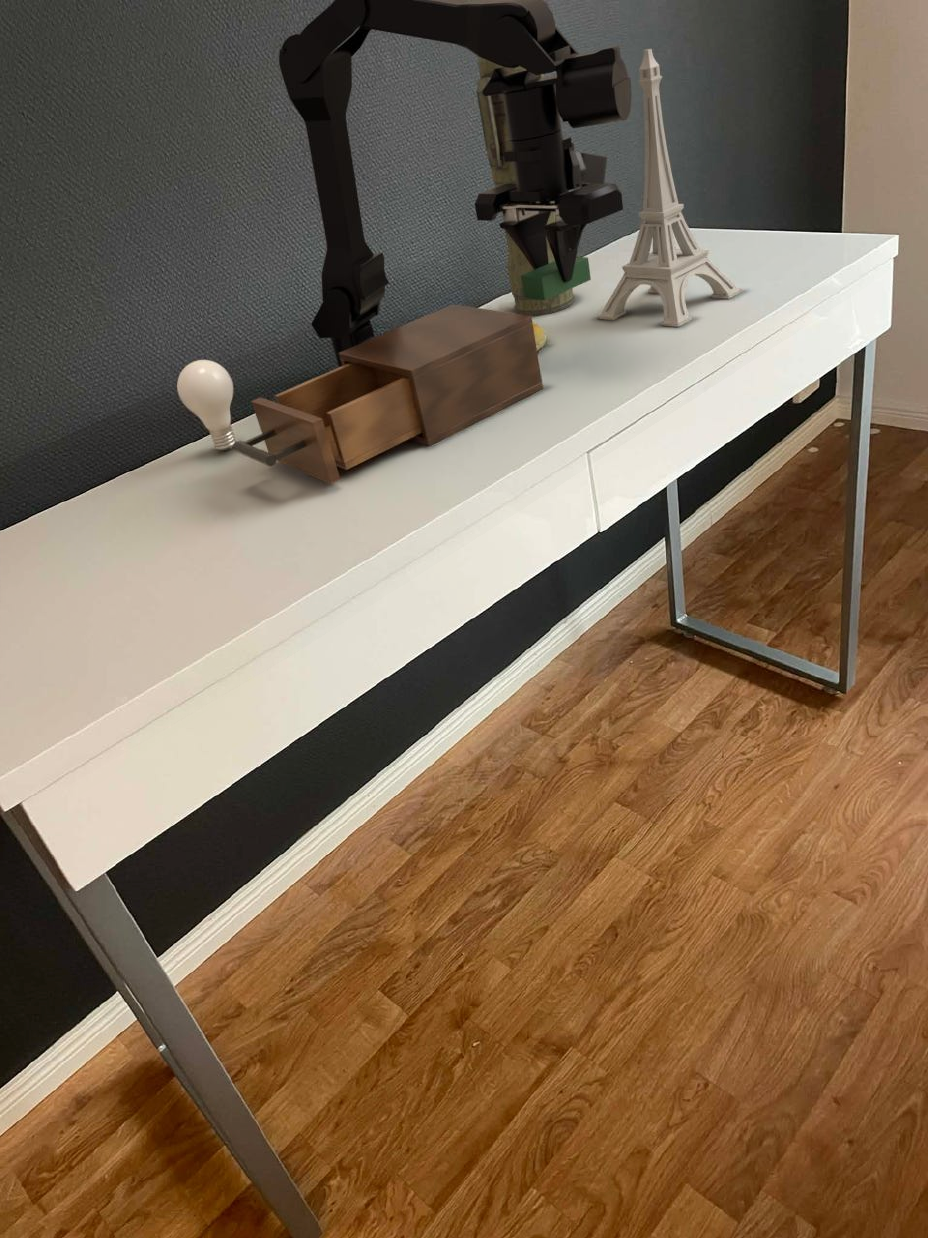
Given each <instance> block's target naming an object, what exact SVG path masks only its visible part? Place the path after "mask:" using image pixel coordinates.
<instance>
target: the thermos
mask: <svg viewBox="0 0 928 1238" xmlns="http://www.w3.org/2000/svg"><path fill="white" fill-rule="evenodd" d="M477 65H478V72H479V76H480V78H479V79H478V82H477V89H476V97H477V98H476V99H477V103H478V110H479V115H480V120H481V121H480V122H481V126H482V127H481V128H482V132H483V139H484V143H485V150H486V155H487V158H488V163H489V166H490V170H491V175H492V176H491V177H492V181H493V184H494V185H495V188H496V187H498V186H501V185H504V184H516V178H515V172H514V166H513V162H505V160H504V154H503V152H505V151H507V150H510V149H511V147H510V139H509V134H508V128H507V121H506V115H505V109H504V102H503V96H502V94H497V95H491V96H484V95H483V94H482V90H483V89H484V88H485V86H486V85H487V83H488V82H489V80H490V78H491V76H492V74H493V70H494V69H496V68H498V67H501V66H500V65H498V64H495V63H493V62H490V61H488V60H485V59H483V58H480V57H478V56H477ZM505 69H506V70H508V71H509V72H511V73H513V72H519V71H524V70H526V69H524V68H522V67H520V66H519V67H516V68H506V67H505ZM540 77H546V74H541V75H540ZM536 203H540V202H536ZM551 203H555V202H552V201H551ZM501 215H503V212H501ZM555 215H556V212H551V214H550V217H549V219H548V222H547V225H548V224H551V223H553V222H556V221H555ZM502 220H503V221H504V218H503V217H502ZM504 232H505V237H506V244H507V250H508V256H507V262H506V266H507V272H508V278H509V284H510V290H511V296H513V299H514V303H515V314H522V315H528V316H543V315H548V314H552V313H556V312H558V311H562V310H564V309H567V308H569V307H570V306H572V305H573V304H574V303H575V301H576V300H575V295H574V288H571V289H569V290H567V291H565V292H563V293H560V294H558V295H556V296H554V297H551V298H549V299H547V300H538V299H530V298H524V293H523V287H522V280H521V275H523V274H526V273H528V272H530V271H533V270H534V269H533V268H532V266H531V265H530V263H529V262H528V260H527V259H526V257H525V256H524V254H523V253H522V252H521V250H520V249H519V247H518V246H517V245H516V243H515V242H514V241H513V240H512V238H511V237H510V236H509V234H508V233H507V232H506V231H505V230H504ZM546 241H547V251H548V261H549V263H551V262H554V261H555V260H554V257H553V254H552V251H551V248H550V245H549V243H548V240H547V237H546Z"/></svg>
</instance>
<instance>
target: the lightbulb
mask: <svg viewBox="0 0 928 1238" xmlns="http://www.w3.org/2000/svg"><path fill="white" fill-rule="evenodd" d="M176 383H177V384H176V390H177V394H178V397H179V399H180V401H181V403H182V405H183V406H184V407H185V408H186V409H187V410H189V412H191V413H192V414H194V416H196V417H198V418H199V420H200V421H201V422H202V424H203V427H204V428H206V429H207V430H208V432H209V435H210V437H211V440H212V443H213V446H214V449H216V450H220V451H225V452H226V451H230V450H231V449H232V448H234V444H235V442H237V441H238V440H237V439H236V436H235V433H234V429H233V428H232V427H233V426H232V423H231V421H232V415H231V404H232V401H233V397H234V392H235V391H234V382H233V379H232V376H231V375H230V373H229V372H228V370H227V369H226V368H225V367H224V366H223V365H221V364H220V363H218V362H217V361H216V362H215V361H213V360H211V359H210V360H209V359H197V360H194V361H191V362H190V363H188V364H187V365H186V366H185V367H184V368H183V369H182V370H181V371H180V373H179V375H178V377H177V381H176Z"/></svg>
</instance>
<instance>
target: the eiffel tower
mask: <svg viewBox="0 0 928 1238" xmlns="http://www.w3.org/2000/svg"><path fill="white" fill-rule="evenodd" d="M660 69H661V68H660V64H659V63H658V62H657V60H656V59H655V57H654V54H653V48H646V49H644V50H643V57H642V62H641V65H640V66H639V68H638V73H639V74H638V75H639V80H638V81H637V83H638V85H639V86H640V87H641V90H642V96H643V115H644V185H643V205H642V211H640V212H638V213H637V214H638V218H640V219H641V223H640V225H639V230H638V233H637V237H636V241H635V245H634V247H633V251H632V254H631V257H630V260H629V263H627V264H624V265H622V266H621V269H622V270H623V272H624V273H623V275H622V277H621V278H620V280H619V282H618V283H617V285H616V287H615V288H614V290H613V292H612V294H611V295H610V297H609V299H608V300H607V302H606V304H605V305H604V307H603V309H602V310H601V312H600V314H598V315H597V319H599V320H608V321H609V320H610V321H615V320H616V319H619V318H620V317H622V316H625V315H626V314H627V310H625V306H626V303H627V301H628V299H629V297H630V296H631V294H632V293H633V292H634V291H635V290H636V289H637V288H639V286H641V285H645V286H646V285H647V286H650V288H649V289H647V291H648V294H659V296H660V298H661V302H662V305H663V321H661V322H660V323H661V326H664V327H665V326H667V327H675V328H680V327H681V326H683V325H685V324H686V323H689V322H690V321H692V316H691V315H690V314H689V311H688V309H687V305H686V304H687V303H686V297H685V295H686V286H687V285H688V282H689V280H690V279H691V278H692V277H693V276H696V277H698V278H700V279H702V280H704V282H706V283H707V284H708V285H709V287H711V289H712V292H713V293H712V294H711V298H714V299H726V300H730V299H731V298H733V297H735V296H737V295H739V294H740V293H742V288H738V286H736V284H734V282H732V280H731V279H730V278H729V277H727V275H726V274H725V273H724V272H722V271H721V270H720V268H719V267H717V266H716V265H715V264H714V263H713V262H712V261H711V260H710V259H709V258H708V255H709V251H710V250H709V249H701V247H700V246H699V244H698V242H697V241H696V239H695V237H694V235H693V233H692V232H691V229H690V228H689V226H688V223H687V222H686V219H685V217H684V215H683V212H682V210H683V209H685V205H684V203H679V199H678V196H677V191H676V186H675V182H674V178H673V173H672V167H671V162H670V157H669V152H668V146H667V145H668V144H667V141H666V134H665V126H664V120H663V119H664V118H663V112H662V111H663V110H662V103H661V95H660V94H661V93H660V83H661V81H662V80H663V75H661V70H660ZM675 240H676V242H675ZM675 243H677V245H678V247H679V248H676V244H675ZM651 247H652V251H651Z"/></svg>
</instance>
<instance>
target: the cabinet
mask: <svg viewBox="0 0 928 1238" xmlns="http://www.w3.org/2000/svg"><path fill="white" fill-rule="evenodd" d="M532 321H533V317H532V316H528V315H522V314H518V313H516V312H507V311H500V310H493V309H487V308H480V307H474V306H466V305H460V304H454V303H453V304H450V305H448V306H445V307H443V308H441V309H439V310H438V309H437V310H436V311H433V312H431V313H429V314H426V315H424V316H422V317H420V318H417V319H415V320H413V321H409V322H408V323H406V324H403V325H400V326H399V327H397V328H394V329H391V330H389V331H387V332H385V333H382V334H379V335H377V336H375V338H373V339H370V340H368V341H366V342H363V343H361V344H359V345H356V346H354V347H352V348H349V349H347V350H345V351H342V352H340V353H339V357H340V360H341V364H342V366H343V365H346V364H348V363H350V362H352V363H356V364H360V365H364V366H368V367H372V368H376V369H380V370H384V371H388V372H392V373H396V374H400V375H404V376H408V377H409V379H410V383H411V387H412V391H413V396H414V400H415V404H416V408H417V412H418V417H419V421H420V425H421V429H422V433H420V434H418V435H416V436H414V437H412V438H410V439H408V441H409V440H410V441H413V442H416V443H419V444H422V445H425V446H427V447H431V446H432V445H434V444H436V443H438V442H440V441H442V440H444V439H446V438H448V437H450V436H452V435H454V434H457V433H458V432H461V431H462V430H464V429H467V428H468V427H470V426H472V425H473V424H476V423H477V422H480V421H482V420H484V419H486V418H488V417H489V416H491V415H494V414H496V413H497V412H500V411H502V410H503V409H506V408H508V407H509V406H512V405H513V404H515V403H517V402H520V401H521V400H523V399H525V398H527V397H529V396H531V395H534V394H535V393H537V392H540V391H541V390H543V389H544V385H543V379H542V374H541V367H540V366H541V365H540V360H539V355H538V351H537V347H536V341H535V335H534V329H533V323H532Z"/></svg>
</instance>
